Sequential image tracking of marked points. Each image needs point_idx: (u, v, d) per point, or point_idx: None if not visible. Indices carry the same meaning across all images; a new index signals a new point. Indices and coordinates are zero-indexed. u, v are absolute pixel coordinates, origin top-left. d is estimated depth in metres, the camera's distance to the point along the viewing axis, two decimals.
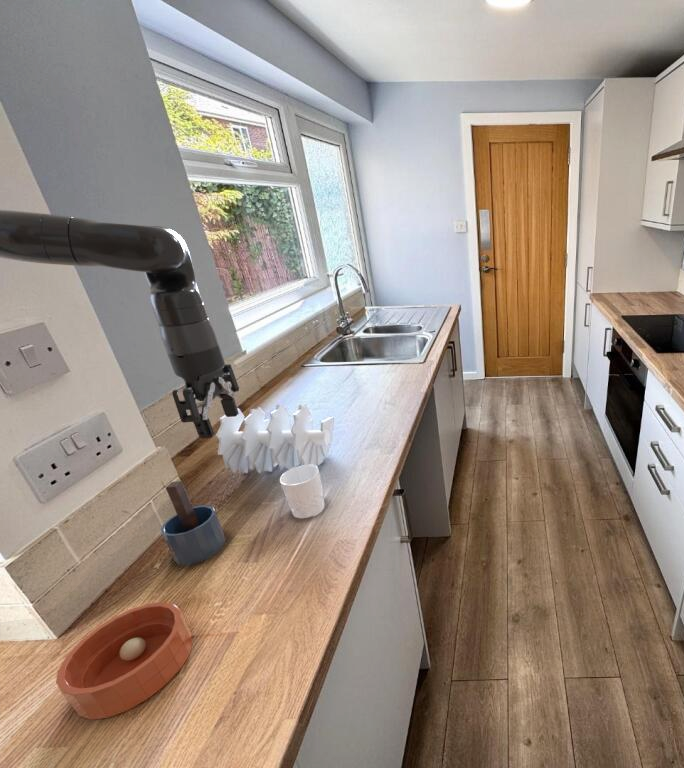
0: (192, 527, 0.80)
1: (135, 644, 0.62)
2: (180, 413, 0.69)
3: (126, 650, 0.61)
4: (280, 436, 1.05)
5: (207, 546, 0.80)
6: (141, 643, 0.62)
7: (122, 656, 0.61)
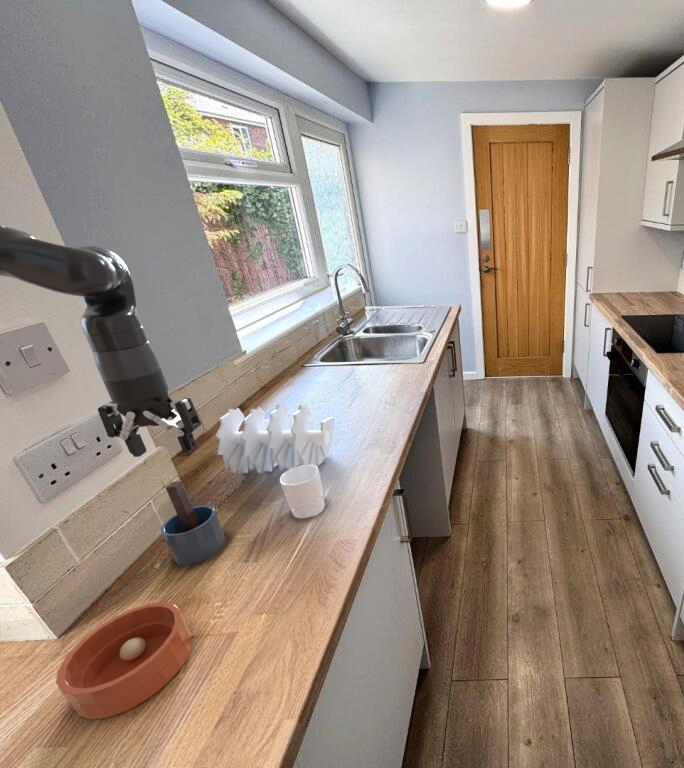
0: (192, 527, 0.80)
1: (135, 644, 0.62)
2: None
3: (126, 650, 0.61)
4: (280, 436, 1.05)
5: (207, 546, 0.80)
6: (141, 643, 0.62)
7: (122, 656, 0.61)
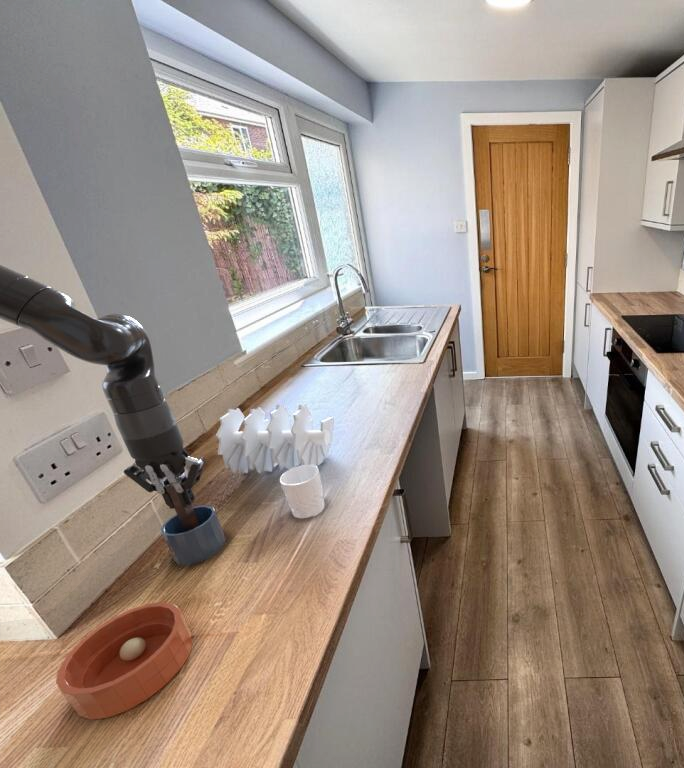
0: (192, 527, 0.80)
1: (135, 644, 0.62)
2: None
3: (126, 650, 0.61)
4: (280, 436, 1.05)
5: (207, 546, 0.80)
6: (141, 643, 0.62)
7: (122, 656, 0.61)
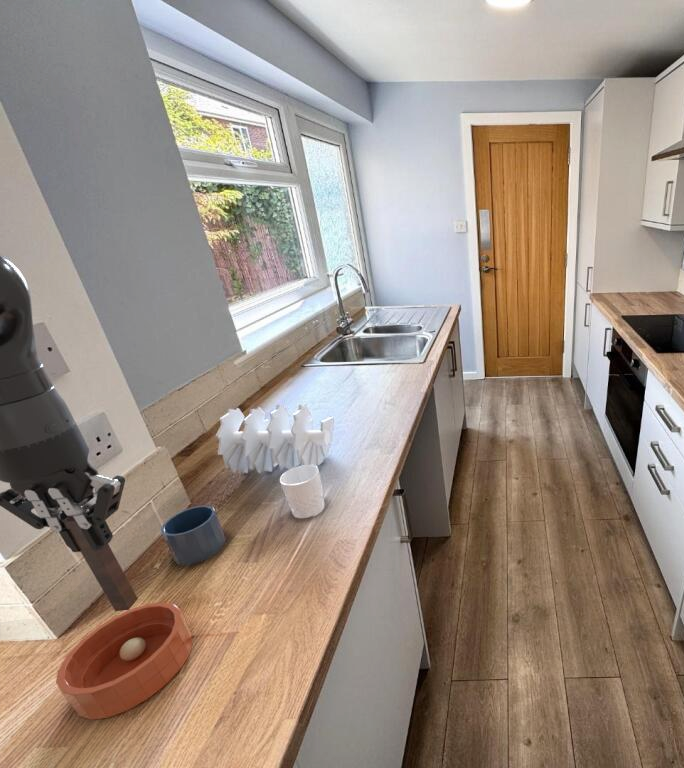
0: (110, 577, 0.54)
1: (135, 644, 0.62)
2: None
3: (126, 650, 0.61)
4: (280, 436, 1.05)
5: (207, 546, 0.80)
6: (141, 643, 0.62)
7: (122, 656, 0.61)
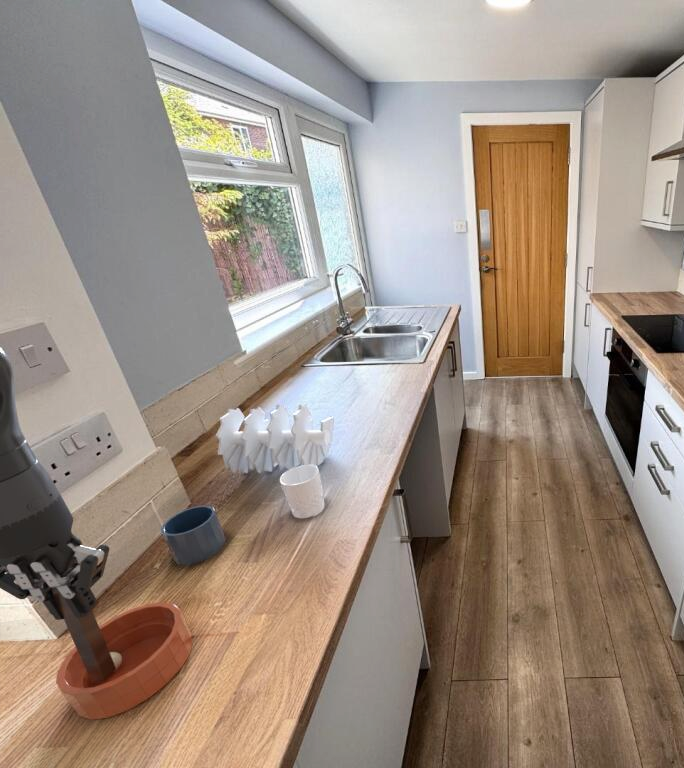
0: (90, 646, 0.53)
1: None
2: None
3: None
4: (280, 436, 1.05)
5: (207, 546, 0.80)
6: None
7: None
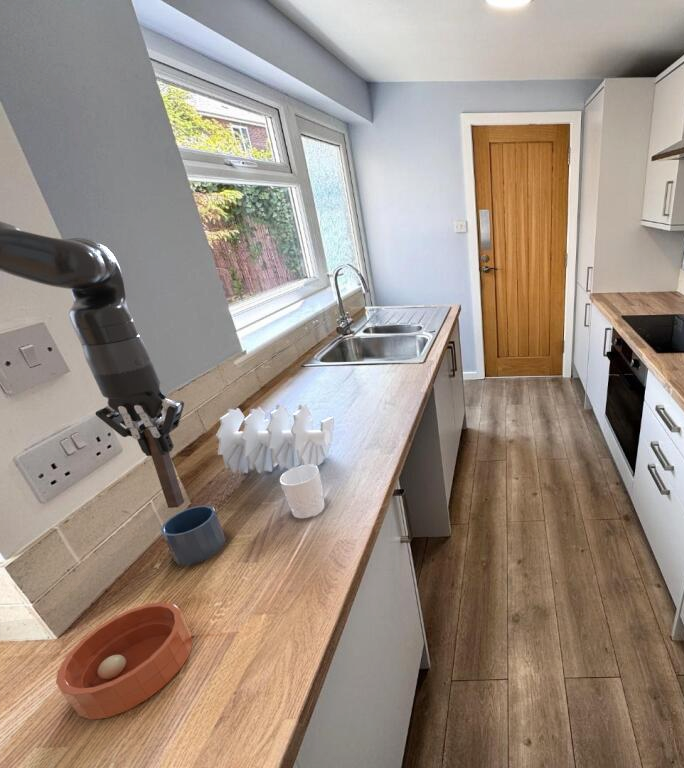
0: (168, 478, 0.75)
1: (110, 668, 0.59)
2: (124, 424, 0.72)
3: (103, 664, 0.59)
4: (280, 436, 1.05)
5: (207, 546, 0.80)
6: (112, 672, 0.59)
7: None
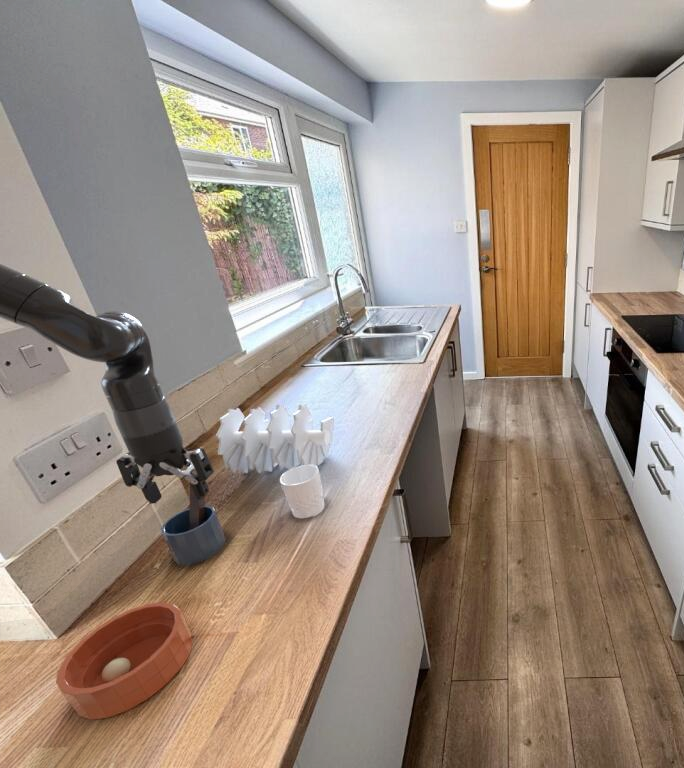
0: (198, 520, 0.82)
1: (118, 676, 0.59)
2: None
3: (113, 672, 0.58)
4: (280, 436, 1.05)
5: (207, 546, 0.80)
6: None
7: (107, 670, 0.58)
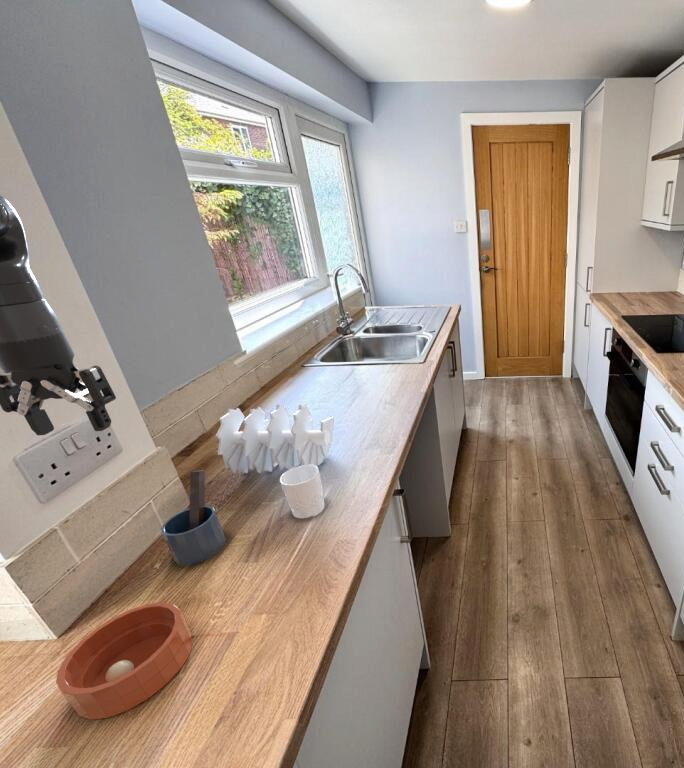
0: (198, 520, 0.82)
1: None
2: None
3: None
4: (280, 436, 1.05)
5: (207, 546, 0.80)
6: None
7: (114, 676, 0.58)
